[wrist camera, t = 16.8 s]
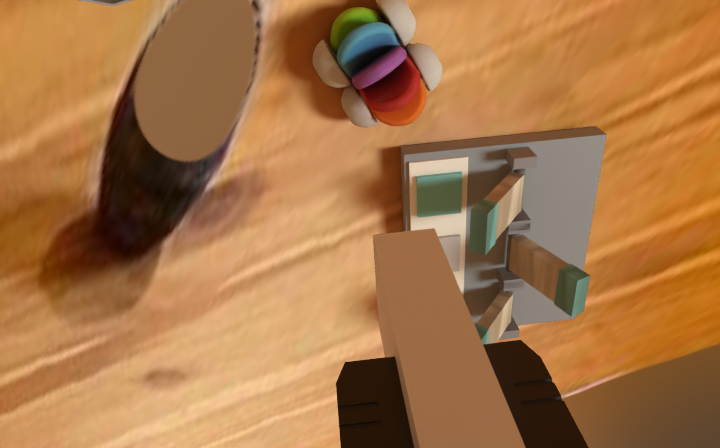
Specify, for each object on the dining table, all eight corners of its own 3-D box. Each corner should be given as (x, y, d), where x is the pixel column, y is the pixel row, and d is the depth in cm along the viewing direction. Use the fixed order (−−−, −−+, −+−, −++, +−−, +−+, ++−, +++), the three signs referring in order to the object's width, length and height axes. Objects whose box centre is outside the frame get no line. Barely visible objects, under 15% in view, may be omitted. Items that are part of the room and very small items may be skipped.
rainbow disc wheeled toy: (362, 132, 48) (372, 166, 42) (297, 37, 44) (297, 60, 38) (446, 78, 47) (469, 105, 40) (388, -26, 42) (403, -14, 36)
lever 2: (501, 315, 57) (464, 369, 51) (504, 281, 55) (465, 333, 49) (514, 319, 57) (478, 375, 51) (517, 285, 55) (480, 339, 48)
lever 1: (510, 206, 51) (469, 253, 45) (514, 163, 49) (470, 206, 43) (525, 210, 50) (485, 258, 44) (529, 166, 48) (487, 210, 42)
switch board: (406, 325, 60) (412, 352, 56) (400, 146, 49) (408, 165, 46) (567, 306, 61) (584, 332, 57) (596, 126, 50) (619, 143, 46)
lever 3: (501, 268, 54) (570, 319, 47) (504, 230, 51) (578, 278, 44) (512, 264, 54) (583, 314, 47) (516, 226, 52) (590, 272, 45)
